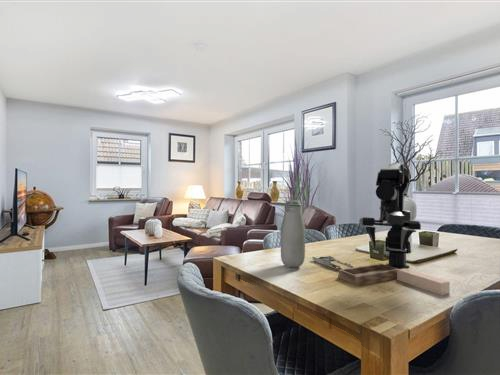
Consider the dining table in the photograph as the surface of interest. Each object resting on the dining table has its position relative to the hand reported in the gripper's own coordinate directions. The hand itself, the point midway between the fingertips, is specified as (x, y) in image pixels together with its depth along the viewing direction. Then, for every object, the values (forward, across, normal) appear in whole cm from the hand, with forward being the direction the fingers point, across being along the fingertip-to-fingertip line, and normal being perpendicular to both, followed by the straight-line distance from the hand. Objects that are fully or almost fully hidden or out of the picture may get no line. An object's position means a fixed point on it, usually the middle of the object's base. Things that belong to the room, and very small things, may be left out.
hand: (388, 248), depth 102 cm
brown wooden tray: (+12, -4, +8) cm, 15 cm away
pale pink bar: (+12, +12, +2) cm, 17 cm away
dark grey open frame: (+11, -14, +23) cm, 29 cm away
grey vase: (+12, -32, +19) cm, 39 cm away
